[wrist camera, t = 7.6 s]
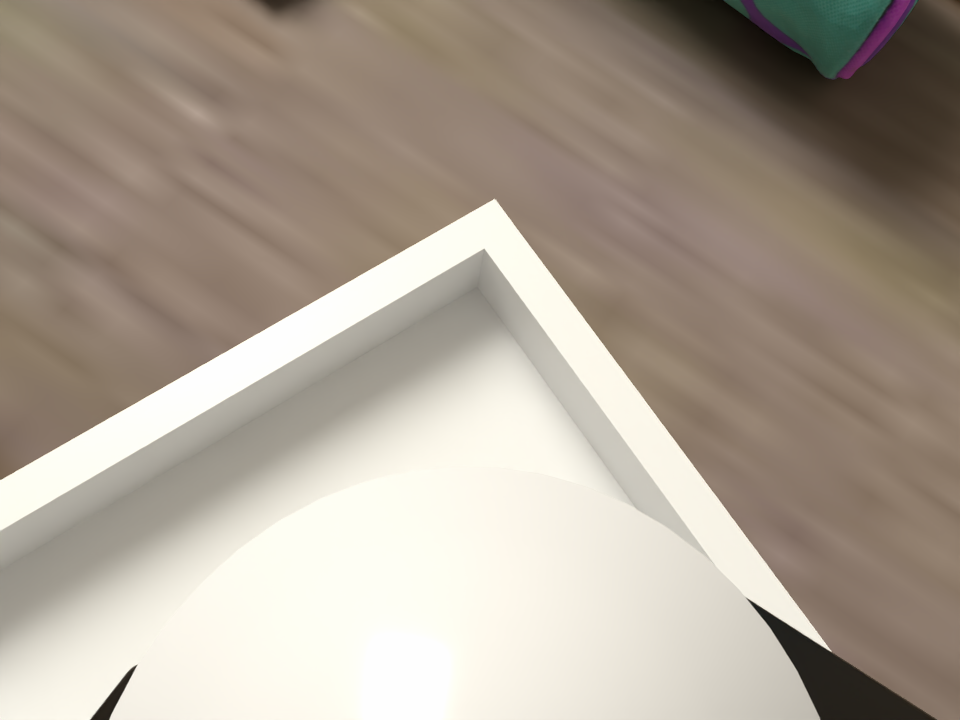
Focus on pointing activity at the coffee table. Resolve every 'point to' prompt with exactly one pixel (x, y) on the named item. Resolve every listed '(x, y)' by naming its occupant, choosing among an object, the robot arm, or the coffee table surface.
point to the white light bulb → (466, 615)
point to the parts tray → (330, 453)
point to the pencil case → (829, 28)
